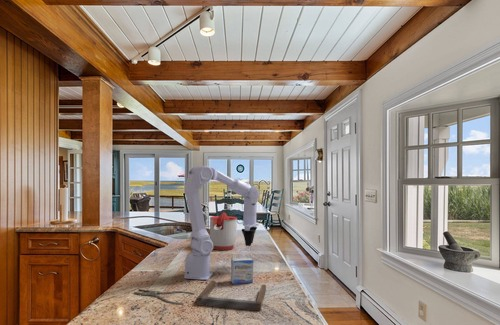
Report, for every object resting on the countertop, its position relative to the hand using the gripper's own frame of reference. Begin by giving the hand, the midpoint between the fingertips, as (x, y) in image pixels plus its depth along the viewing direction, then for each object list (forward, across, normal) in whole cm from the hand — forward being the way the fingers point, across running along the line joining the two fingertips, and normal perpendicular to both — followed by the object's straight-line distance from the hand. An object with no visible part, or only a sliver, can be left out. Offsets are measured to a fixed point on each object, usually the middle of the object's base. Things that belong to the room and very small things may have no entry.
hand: (249, 244), depth 130 cm
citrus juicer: (+11, +32, +20) cm, 39 cm away
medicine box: (+11, -17, 0) cm, 20 cm away
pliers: (+11, -37, +23) cm, 45 cm away
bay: (+10, -32, 0) cm, 34 cm away
